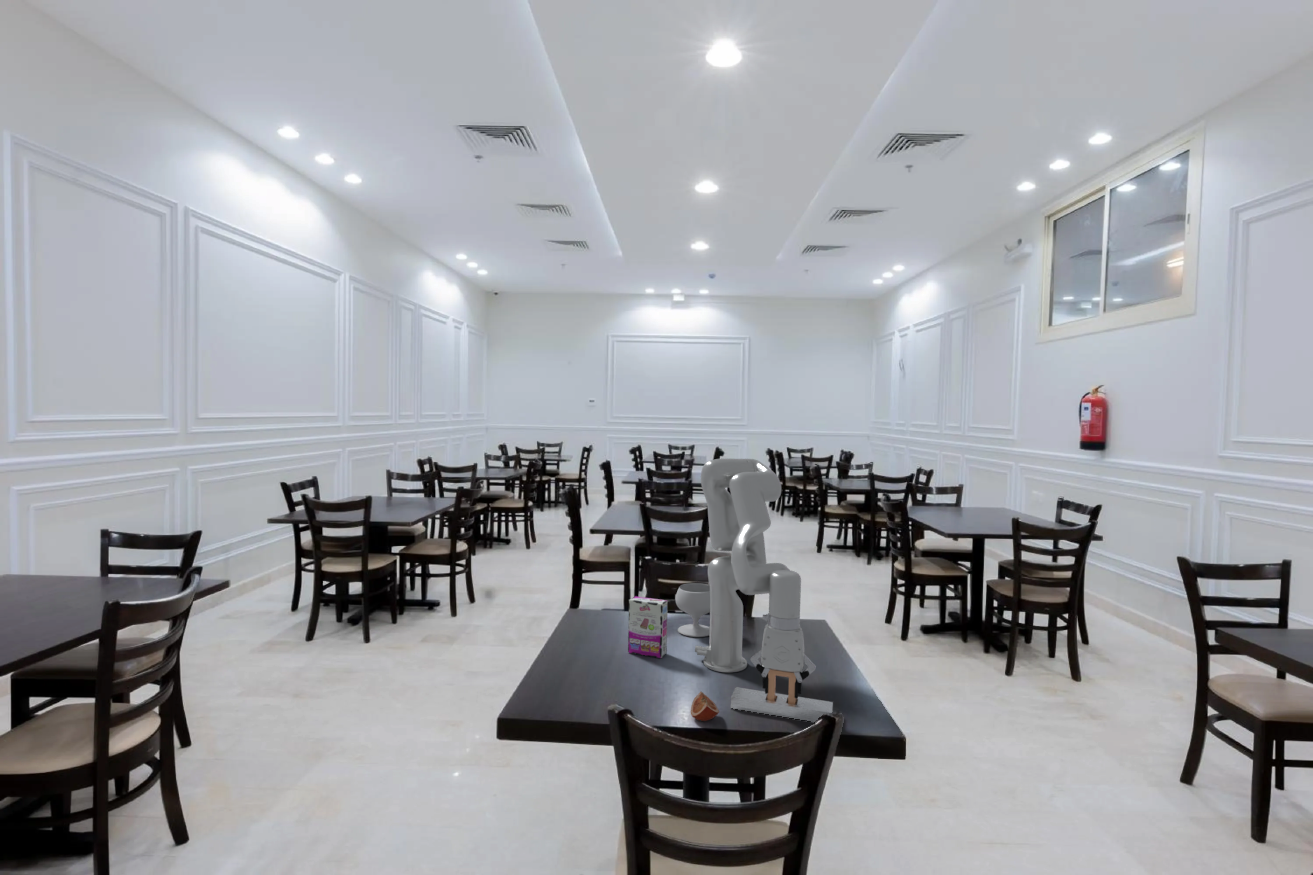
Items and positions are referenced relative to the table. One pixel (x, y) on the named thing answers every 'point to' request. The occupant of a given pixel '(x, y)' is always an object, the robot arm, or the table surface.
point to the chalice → (694, 607)
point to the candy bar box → (647, 626)
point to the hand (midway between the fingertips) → (781, 693)
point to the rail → (779, 705)
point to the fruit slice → (703, 708)
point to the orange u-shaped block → (772, 685)
